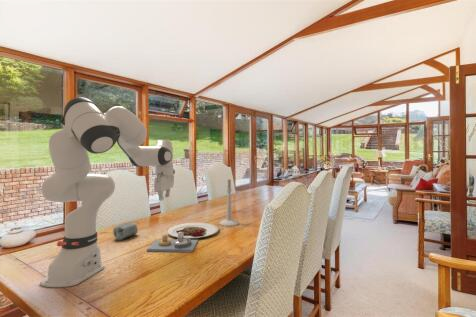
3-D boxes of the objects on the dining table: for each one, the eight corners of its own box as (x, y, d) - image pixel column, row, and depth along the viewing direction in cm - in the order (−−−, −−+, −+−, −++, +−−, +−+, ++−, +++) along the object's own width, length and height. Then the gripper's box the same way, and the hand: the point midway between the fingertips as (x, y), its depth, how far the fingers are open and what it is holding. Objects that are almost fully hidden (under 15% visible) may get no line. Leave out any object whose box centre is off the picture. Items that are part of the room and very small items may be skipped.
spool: (120, 237, 138) (119, 218, 142) (109, 242, 141) (108, 224, 146) (142, 236, 149) (140, 219, 153) (131, 241, 153) (130, 225, 157)
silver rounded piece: (186, 247, 129) (186, 234, 129) (171, 246, 129) (172, 234, 129) (188, 241, 136) (188, 230, 136) (175, 241, 136) (175, 230, 136)
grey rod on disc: (235, 220, 183) (235, 177, 182) (241, 225, 171) (241, 179, 170) (217, 222, 179) (217, 178, 178) (222, 227, 167) (222, 180, 166)
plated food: (190, 223, 177) (190, 218, 177) (227, 229, 162) (227, 224, 162) (156, 235, 151) (156, 229, 151) (197, 244, 136) (197, 238, 136)
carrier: (192, 252, 126) (192, 240, 125) (147, 251, 126) (146, 239, 126) (197, 242, 140) (197, 231, 139) (157, 241, 140) (157, 230, 140)
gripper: (163, 173, 124) (163, 202, 124) (175, 170, 144) (175, 195, 145) (150, 173, 124) (150, 202, 124) (164, 170, 145) (164, 195, 145)
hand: (164, 198), depth 135 cm, fingers open, 8 cm apart
